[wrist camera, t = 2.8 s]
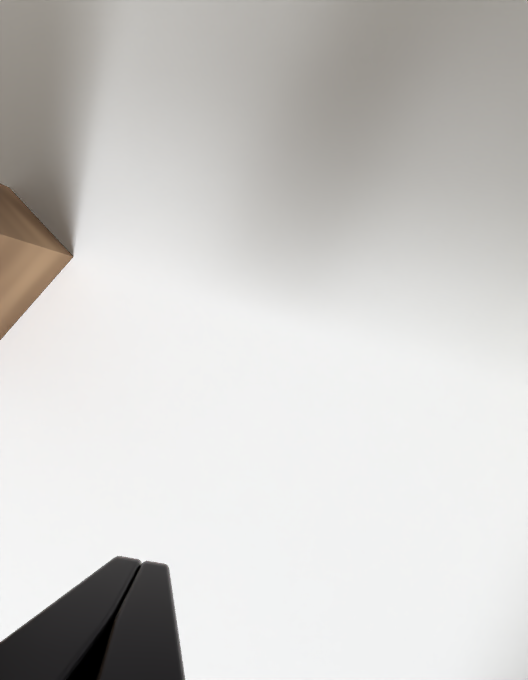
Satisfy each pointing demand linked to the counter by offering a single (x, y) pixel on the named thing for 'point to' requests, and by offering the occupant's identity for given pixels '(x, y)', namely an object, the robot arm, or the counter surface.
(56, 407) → the counter surface
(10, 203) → the walnut block
